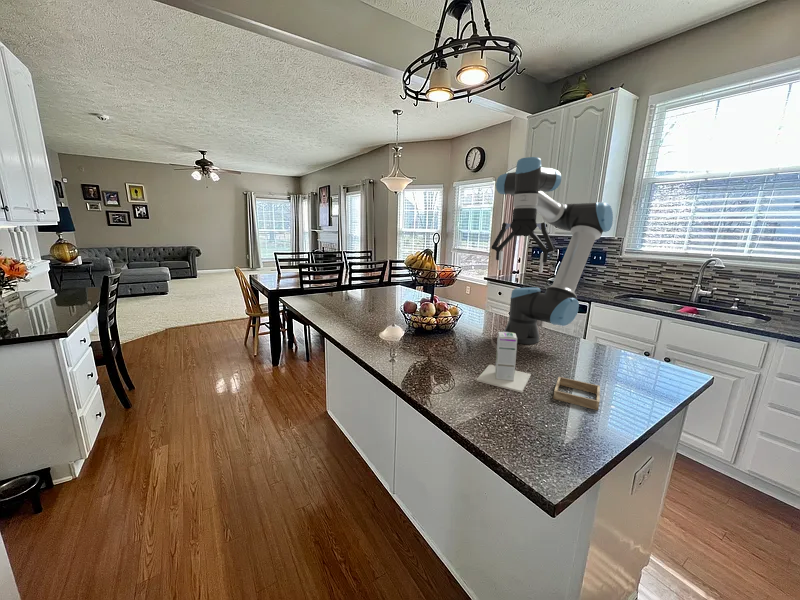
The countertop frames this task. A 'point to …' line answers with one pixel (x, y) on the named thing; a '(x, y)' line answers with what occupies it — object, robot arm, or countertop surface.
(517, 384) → the board
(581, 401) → the corral
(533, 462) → the countertop surface
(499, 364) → the syrup box
